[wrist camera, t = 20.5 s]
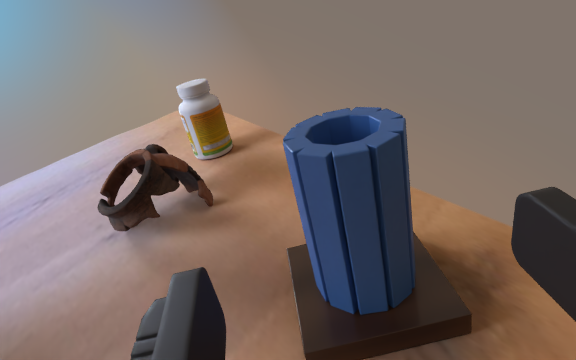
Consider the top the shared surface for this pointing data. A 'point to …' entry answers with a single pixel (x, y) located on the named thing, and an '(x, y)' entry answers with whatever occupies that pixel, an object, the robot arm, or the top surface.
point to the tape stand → (376, 314)
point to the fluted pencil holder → (355, 205)
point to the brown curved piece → (147, 185)
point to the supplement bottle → (203, 120)
